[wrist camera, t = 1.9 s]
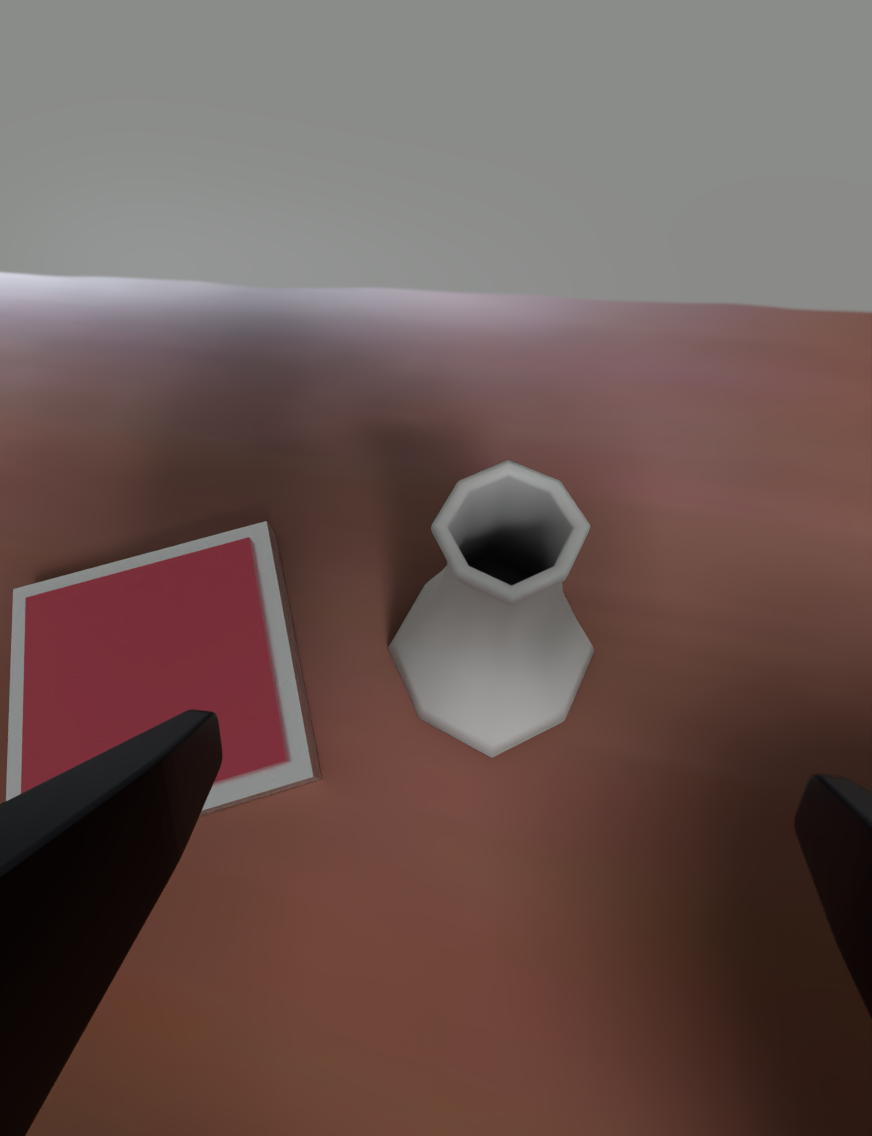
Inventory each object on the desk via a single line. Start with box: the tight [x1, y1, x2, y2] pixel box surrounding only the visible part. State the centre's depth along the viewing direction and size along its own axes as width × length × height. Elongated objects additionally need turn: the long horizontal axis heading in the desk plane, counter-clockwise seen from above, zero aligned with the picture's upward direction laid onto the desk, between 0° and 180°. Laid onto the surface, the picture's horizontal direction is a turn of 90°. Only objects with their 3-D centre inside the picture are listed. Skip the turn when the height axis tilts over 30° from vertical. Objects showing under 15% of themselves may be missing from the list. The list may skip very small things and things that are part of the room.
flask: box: [388, 460, 595, 758], centre depth 16 cm, size 7×7×10 cm
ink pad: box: [6, 521, 322, 816], centre depth 20 cm, size 10×10×2 cm
